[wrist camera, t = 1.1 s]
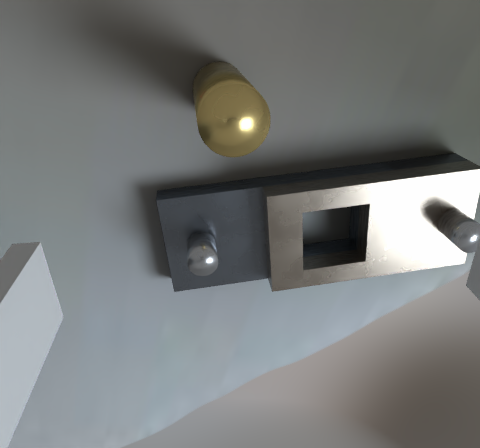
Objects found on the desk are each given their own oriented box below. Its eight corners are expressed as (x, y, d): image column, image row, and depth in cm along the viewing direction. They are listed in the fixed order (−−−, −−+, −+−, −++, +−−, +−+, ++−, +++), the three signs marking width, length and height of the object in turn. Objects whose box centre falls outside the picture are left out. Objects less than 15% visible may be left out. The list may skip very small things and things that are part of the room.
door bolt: (174, 278, 39) (173, 330, 33) (157, 190, 34) (152, 230, 28) (440, 241, 41) (486, 283, 34) (454, 153, 36) (510, 182, 30)
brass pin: (196, 119, 32) (202, 161, 23) (189, 64, 30) (192, 88, 22) (247, 113, 32) (272, 152, 24) (243, 58, 31) (268, 79, 22)
